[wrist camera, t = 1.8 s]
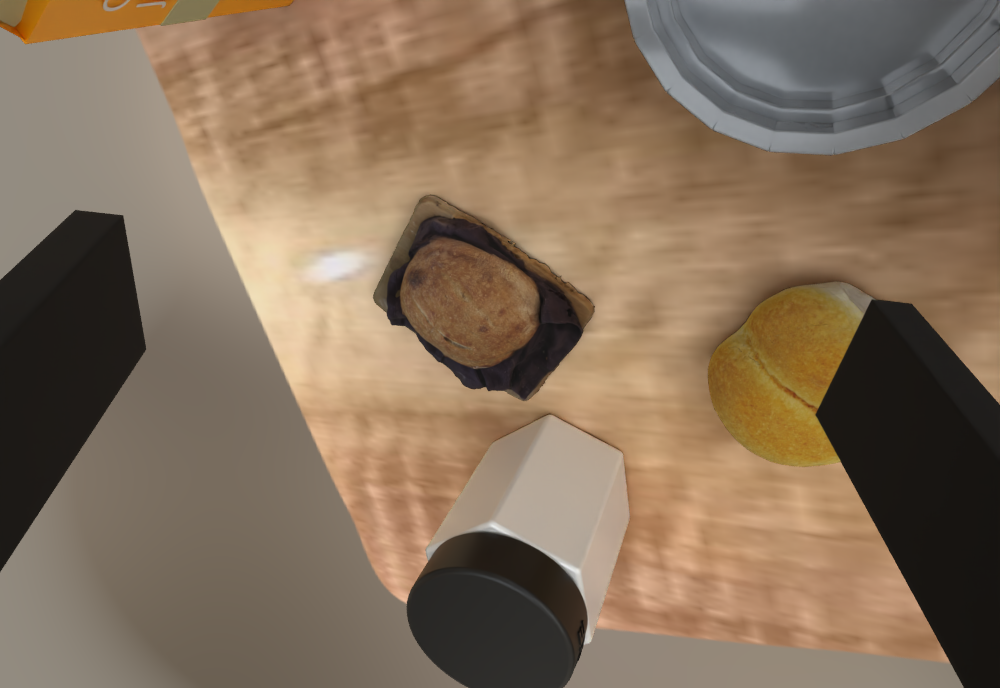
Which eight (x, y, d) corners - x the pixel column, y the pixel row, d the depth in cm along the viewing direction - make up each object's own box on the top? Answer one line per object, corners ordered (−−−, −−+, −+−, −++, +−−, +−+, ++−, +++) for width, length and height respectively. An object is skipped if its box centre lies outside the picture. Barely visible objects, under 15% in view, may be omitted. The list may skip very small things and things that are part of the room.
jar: (544, 551, 46) (472, 718, 37) (464, 452, 45) (366, 599, 35) (665, 506, 41) (619, 685, 32) (580, 394, 40) (504, 545, 30)
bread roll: (681, 379, 37) (668, 422, 34) (806, 246, 32) (805, 281, 29) (816, 475, 37) (816, 527, 34) (963, 356, 32) (980, 405, 29)
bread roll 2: (372, 298, 42) (337, 327, 39) (433, 179, 37) (399, 201, 34) (524, 408, 42) (501, 445, 39) (606, 303, 37) (587, 336, 34)
